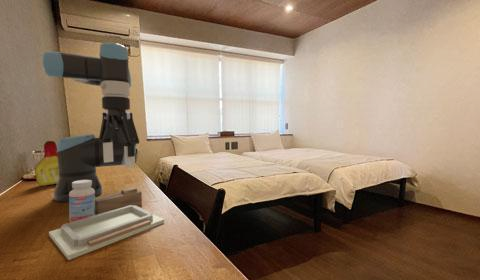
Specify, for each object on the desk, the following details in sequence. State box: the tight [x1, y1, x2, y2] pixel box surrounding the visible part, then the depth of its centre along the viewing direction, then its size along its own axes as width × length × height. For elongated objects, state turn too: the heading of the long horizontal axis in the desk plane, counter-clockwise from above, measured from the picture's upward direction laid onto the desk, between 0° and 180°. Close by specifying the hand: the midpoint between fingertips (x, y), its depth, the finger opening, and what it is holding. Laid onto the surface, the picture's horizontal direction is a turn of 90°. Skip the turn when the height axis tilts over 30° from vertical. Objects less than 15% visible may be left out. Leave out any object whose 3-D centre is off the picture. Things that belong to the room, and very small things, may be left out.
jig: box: [48, 205, 165, 261], centre depth 59 cm, size 16×22×2 cm
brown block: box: [95, 186, 143, 215], centre depth 72 cm, size 5×13×6 cm, turn 138°
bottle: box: [34, 140, 59, 187], centre depth 102 cm, size 12×6×20 cm, turn 138°
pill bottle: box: [68, 180, 96, 223], centre depth 64 cm, size 6×6×11 cm
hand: (118, 164), depth 71 cm, fingers open, 13 cm apart
